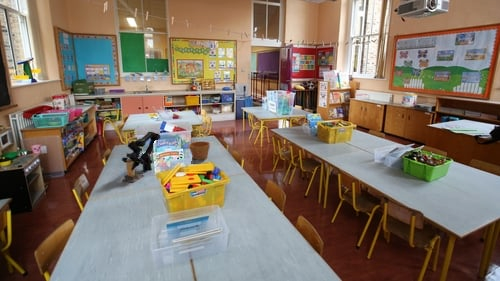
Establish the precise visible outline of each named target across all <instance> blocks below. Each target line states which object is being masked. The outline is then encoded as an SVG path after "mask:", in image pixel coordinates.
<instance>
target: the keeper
mask: <svg viewBox="0 0 500 281" xmlns="http://www.w3.org/2000/svg"><path fill="white" fill-rule="evenodd" d="M143 177H145V174H139V173H136V172H135V175H134V176H128V173H127V174H126V175H125V176H124V178H123V179H122V180H121V182H122V183H123V182H126V183H133V184H134V183H136V182H137V181H138V180H140V179H142V178H143Z"/></svg>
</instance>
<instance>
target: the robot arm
mask: <svg viewBox="0 0 500 281" xmlns="http://www.w3.org/2000/svg"><path fill="white" fill-rule="evenodd" d="M158 139H159V140H160V139H161V135H160V133H156V132H154V131H148V132H147V133H146V134H145V135H144V136H142V137H141V138H138V139H137V140H131V142H129V143H128V144H127V148H128V149H130V150H131V151H132V152H131V153H128V152H127V153H126V156H125V157H124V156H123V157H122V158H121V161H123V163H125V164H126V162H128V160H131V161H133V163H134V164H133V167H132V170H134V171H135V169H136V168H138V166H140V165H142V170H143V171H144V172H148V171H152V170H153V168H152V163H153V160H152V157H150V154H151V152H152V150H153V143H154V141H155V140H158ZM149 140H150V141H149ZM148 141H149V143H148V144H147V142H148ZM146 145H148V148H147V150H146V152H145V153H144V154H143V153H142V147H144V146H146Z"/></svg>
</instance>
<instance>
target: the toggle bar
mask: <svg viewBox="0 0 500 281" xmlns="http://www.w3.org/2000/svg"><path fill="white" fill-rule="evenodd" d="M133 164H134V162H133V161H131V160H128V162H126V163H125V165H126V171H127V172H126V173H127V174H128V176H134V175H135V173H136V172H135V169H134V170H132V167H133Z"/></svg>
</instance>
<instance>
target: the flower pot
mask: <svg viewBox="0 0 500 281" xmlns="http://www.w3.org/2000/svg"><path fill="white" fill-rule="evenodd" d="M210 144H211V143H210V142H208V141H195V142H191V143H188V146H189V150H190V153H191V156H192V159H194V160H199V161H201V160H206V159H207V158H208V157H209V156H208V155H209V151H210V148H211V147H210V146H211V145H210Z"/></svg>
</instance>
